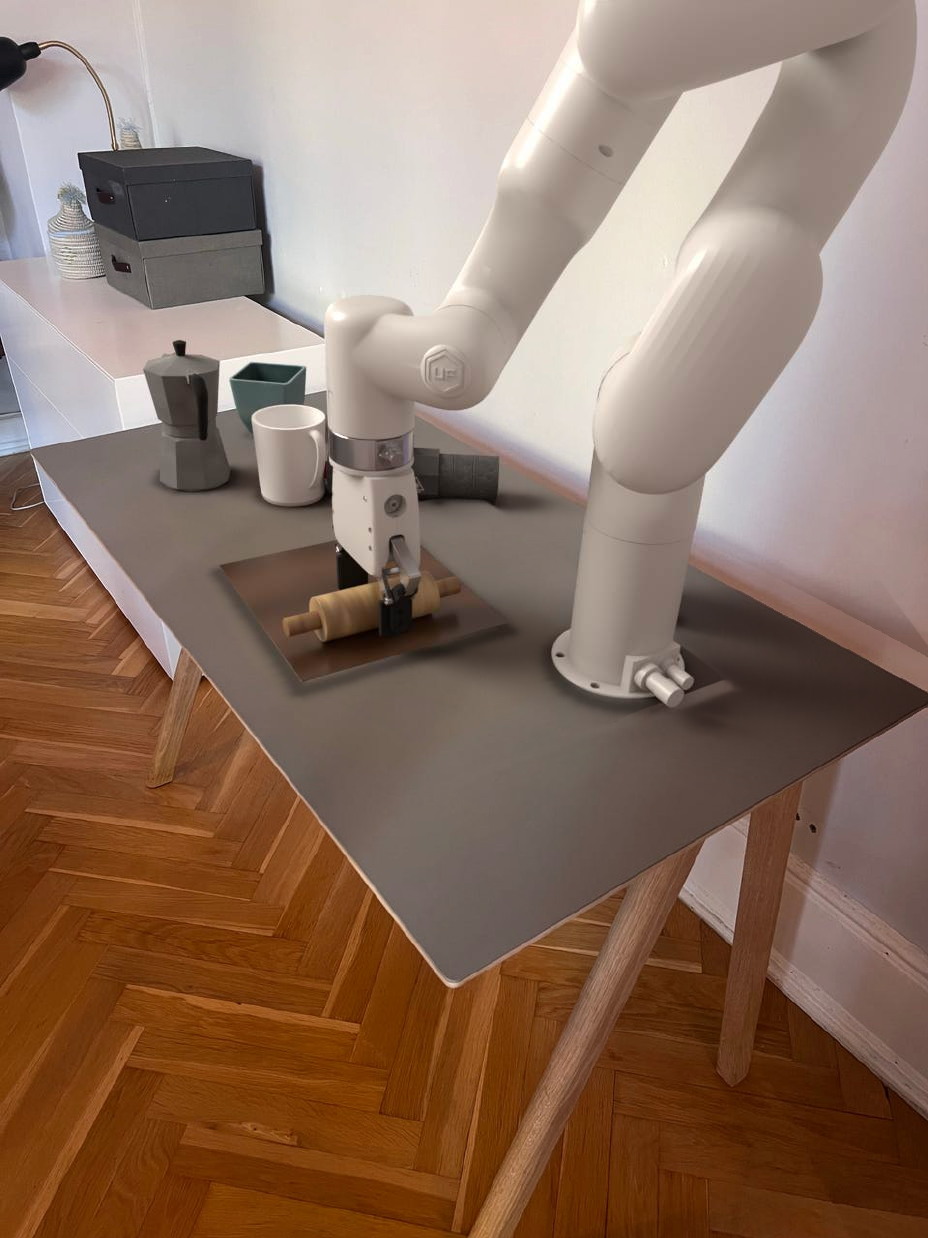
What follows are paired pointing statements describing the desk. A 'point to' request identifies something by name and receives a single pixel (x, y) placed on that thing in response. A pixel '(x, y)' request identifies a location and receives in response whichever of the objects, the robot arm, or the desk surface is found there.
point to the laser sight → (448, 475)
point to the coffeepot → (188, 419)
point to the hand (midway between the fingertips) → (373, 610)
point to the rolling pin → (364, 607)
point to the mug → (290, 454)
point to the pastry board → (312, 571)
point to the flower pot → (266, 388)
